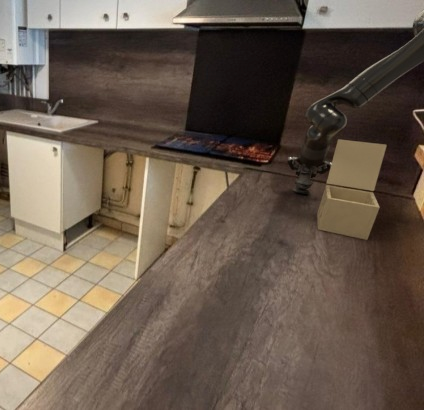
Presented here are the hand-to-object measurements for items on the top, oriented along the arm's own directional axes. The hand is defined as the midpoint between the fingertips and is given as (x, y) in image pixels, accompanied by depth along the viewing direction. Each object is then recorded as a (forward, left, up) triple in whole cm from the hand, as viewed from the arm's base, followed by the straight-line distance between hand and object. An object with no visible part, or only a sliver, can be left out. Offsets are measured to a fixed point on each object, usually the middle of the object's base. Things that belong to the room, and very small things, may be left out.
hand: (305, 175), depth 130 cm
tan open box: (-8, +28, -6) cm, 30 cm away
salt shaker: (0, +2, -6) cm, 6 cm away
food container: (-16, -8, -7) cm, 19 cm away
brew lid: (-9, +19, +11) cm, 24 cm away
